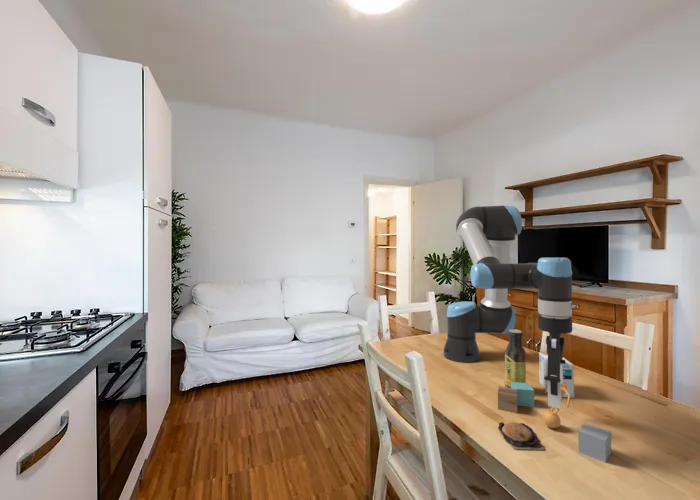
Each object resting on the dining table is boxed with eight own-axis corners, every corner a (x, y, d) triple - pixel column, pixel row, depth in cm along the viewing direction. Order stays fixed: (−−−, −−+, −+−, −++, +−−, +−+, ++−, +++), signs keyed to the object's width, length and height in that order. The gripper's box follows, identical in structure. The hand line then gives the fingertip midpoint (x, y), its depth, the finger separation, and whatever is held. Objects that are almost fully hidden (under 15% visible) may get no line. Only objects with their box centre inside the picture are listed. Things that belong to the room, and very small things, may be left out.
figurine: (534, 418, 88) (534, 375, 87) (554, 417, 88) (554, 375, 88) (555, 436, 79) (555, 389, 79) (578, 435, 80) (578, 388, 79)
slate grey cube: (584, 443, 77) (584, 422, 77) (611, 453, 73) (610, 432, 73) (578, 451, 74) (578, 430, 74) (605, 463, 70) (605, 440, 70)
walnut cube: (498, 401, 97) (498, 385, 97) (517, 405, 95) (517, 389, 95) (497, 409, 93) (497, 392, 93) (517, 413, 90) (517, 396, 90)
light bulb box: (575, 398, 99) (574, 364, 98) (551, 397, 100) (551, 363, 100) (559, 384, 109) (559, 353, 109) (538, 382, 110) (538, 351, 110)
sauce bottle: (503, 384, 109) (503, 327, 109) (524, 386, 107) (523, 328, 107) (506, 392, 103) (505, 332, 103) (527, 395, 101) (527, 333, 101)
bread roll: (548, 453, 74) (548, 438, 74) (511, 452, 74) (511, 437, 74) (526, 427, 84) (526, 413, 84) (493, 426, 85) (493, 413, 85)
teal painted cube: (511, 397, 100) (511, 381, 100) (528, 399, 99) (528, 383, 99) (516, 405, 95) (515, 389, 95) (534, 407, 94) (534, 390, 94)
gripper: (571, 327, 71) (572, 421, 71) (572, 309, 91) (573, 383, 91) (533, 323, 75) (534, 412, 75) (542, 307, 95) (543, 377, 95)
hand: (555, 396), depth 83 cm, fingers open, 13 cm apart
